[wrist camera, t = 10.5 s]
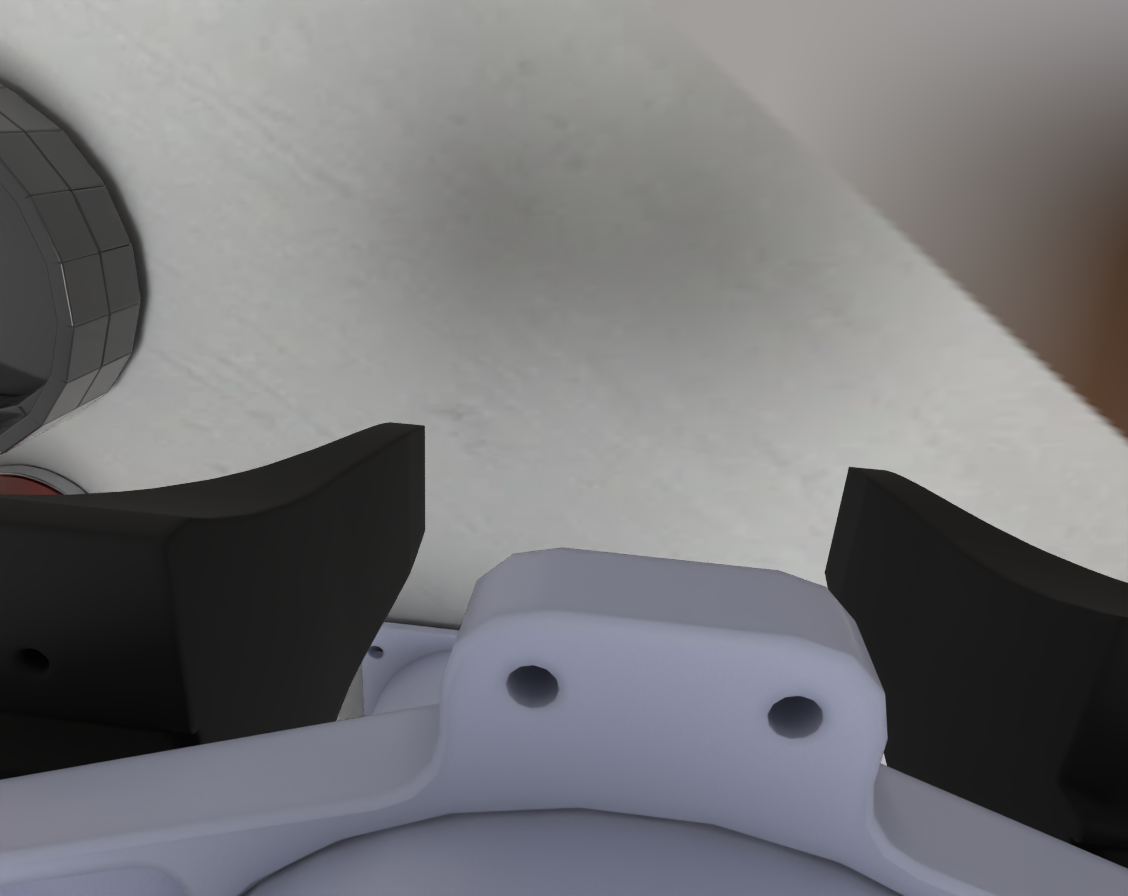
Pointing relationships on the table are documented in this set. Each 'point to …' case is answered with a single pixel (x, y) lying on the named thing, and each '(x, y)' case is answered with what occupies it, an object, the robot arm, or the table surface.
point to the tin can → (34, 482)
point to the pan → (57, 278)
